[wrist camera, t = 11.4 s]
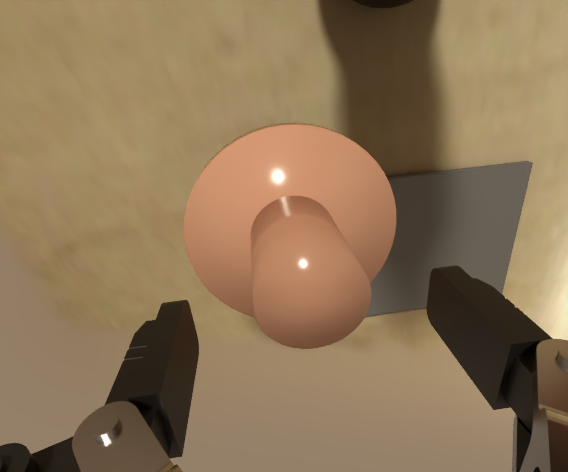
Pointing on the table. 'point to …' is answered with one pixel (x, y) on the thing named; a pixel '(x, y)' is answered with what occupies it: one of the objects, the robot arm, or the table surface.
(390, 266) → the mat
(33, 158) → the table surface
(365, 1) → the cola bottle
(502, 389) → the robot arm
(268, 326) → the lid
